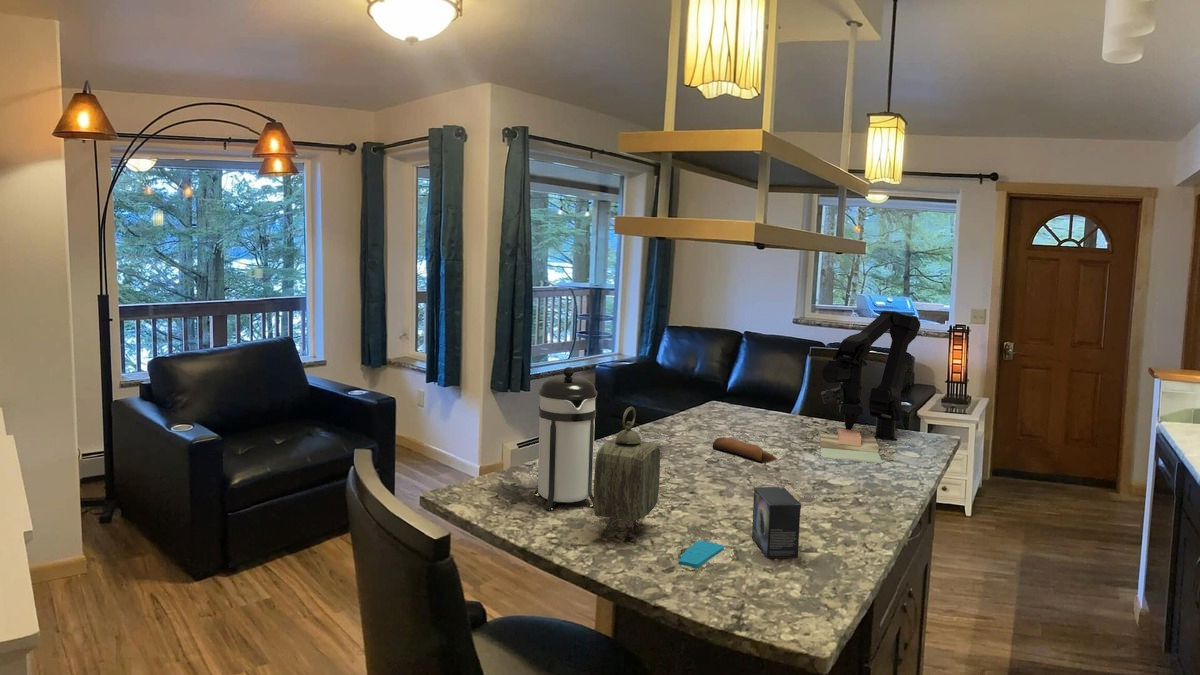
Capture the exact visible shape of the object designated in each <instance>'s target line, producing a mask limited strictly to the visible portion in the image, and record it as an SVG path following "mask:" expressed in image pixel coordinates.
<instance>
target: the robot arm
mask: <svg viewBox="0 0 1200 675" xmlns="http://www.w3.org/2000/svg"><path fill="white" fill-rule="evenodd" d="M920 328H921V322H920V320H919V318H918V317H917V315H909V314H908V315H906V314H902V313H899V312H897V311H893V310H882V311H881V312H880V314H879V315H878V316H877V317H876V318H875V319H874V320H873V321H872V322H870V323H869V324H868V325H867V326H866V327H865V328H863V329H862V330H861V331H860V332H858V333H855V334H851V335H849V336H847V337H846V338H844V339H842V341H841V343H840V345H839V346H838V349H837V350H836V352H835V354H834V356H833V358H832V359H828V362H827V364H826V365H824V366H823V369H822V370H821V375H822V378H823V380H824V381H825V382H826V383H828V384H836V383H837V384H838V383H839V386H838V387H834V388H830V389H826V390H822V391H821V392H820V394H821V398H822V401H823V404H824V405H826V404H829V403H832V402H836V401H837V404H839V406H838V410H839V413H840V414H842V415H843V419H844V427H845V428H844V429H846V430H853V427H854V425H855V423H856V422H857V420H858V417H859V416H862V415H863V411H864V409H863V406H862V405H861V402H862V399H861V394H862V389H863V386H862V382H863V381H862V380H863V372H864V371H863V367H868V362H866V361H865V358H866V357H868V355H869V354H870V352H871V351H872V345H873V344H874V343H875V342H876V341H877V340H878V339H879V338H881V337H883V335H884V334H885V333H887V331H888V332H889V335H890V339H891V343H890V347H889V350H888V354H887V358H886V361H885V365H884V369H883V373H882V376H881V380H880V383H879V385H878V386H877V387H872V389H871V391H870V395H869V397H868V399H867V400H868V409H869V410H868V411H869V414H870V417H874V418H875V419H876V420H875V431H874V432H873V433H872V435H873V438H875V439H881V440H891V441H897V440H898V438H897V436H896V424H897V423H896V422H901V421H903V418H904V416H905V412H904V411H903V410H902V407H901V406H900V405H899V404H900V395H899V392H898V384H899V381H900V377H901V374H902V369H903V366H904V362H905V358H906V354H907V352H908V349H909V348H908V346H909V345H910V344H911V343H912V342H913V341H914V340H915V339H916V338H917V336H918V333H919V330H920Z"/></svg>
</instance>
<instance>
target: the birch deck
mask: <svg viewBox="0 0 1200 675" xmlns="http://www.w3.org/2000/svg"><path fill="white" fill-rule="evenodd" d="M819 447H820V450H821V448H829V449H840V450H851V451H862V452H873V453H879V449H880V447H879V445H878V442H877V438H875V437H869V436H861V446H857V445H846V444H839V441H838V433H837V434H834V433H823V432H820V433H819Z"/></svg>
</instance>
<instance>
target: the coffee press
mask: <svg viewBox="0 0 1200 675" xmlns="http://www.w3.org/2000/svg"><path fill="white" fill-rule="evenodd" d="M562 373H563V375H564V376H559V377H552V378H548V379H547V380H545V381H543V383H542V384H541V387H540V388H539V389H538V395H539V406H538V416H539V424H538V425H539V427H538V428H539V429H538V430H539V432H538V462H537V463H538V465H537V466H538V470H537V471H538V472H537V475H538V477H537V488H536V489H535V491H534V493H533V494H534V495H535V494H537V493H538V494H539V495H540V497H542V498H543V499H546V500H547V501H546V502H545V506H544V508H545V510H546V509H550V510H549V511H551V508H554V509H555V507H556V505H557V503H574V502H575V503H576V502H580V501H581V502H584V503H585V504H586V506H590V505H593V506H592V507H591V508H594V494H593V483H594V454H595V453H594V452H595V451H594V450H595V449H594V447H595V425H596V424H595V422H596V421H595V420H596V416H597V408H596V398H597V396H598V391H597V390H596V387H595V384H593V383H592V382H591V381H589V380H588V379H585V378H583V377H582V378H581V377H576V376H575V377H572V376H574V373H575V370H574V369H573V368H572V367H571V366H567V367H565V368H564V369H563V371H562ZM588 498H589V499H590V500H591V501H589V500H588Z"/></svg>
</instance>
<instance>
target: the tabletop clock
mask: <svg viewBox="0 0 1200 675" xmlns="http://www.w3.org/2000/svg"><path fill="white" fill-rule="evenodd" d="M630 411H632V415H633V419H632V420H631V421H630V420H628V421H626V418H627V415H628V413H629V412H630ZM636 416H637V413H636V409H635V408H634V406H629V407H626V409H625V410H624V413H623V416H622V421H621V422H622V427H623V429H622V430H620V431H619V432H618V433H617V435H616V437H614V438H612V439H609V440H607V441H606V442H605V443H604V444H602V445H601V446H600V447H599V449H598V450H597V452H596V458H595V464H594V472H593V497H594V506H593V511H594V516H596V517H602V518H609V519H608V520H609V521H608V522H607V524H606V526H605V528H602V529H601V530H600V533H599V535H600V537H602V538H607V537H608V536H609V531H608V530H609V529H610V527H611V526H612V525H613V523H614V522H616V521H617V520H620V521H625V522H626V521H627V522H632V523H633V526H632V527H631V531H632V532H633V533H635V534H638V533H639V532H640V531H641V528H640V527H641V526H640V525H639V524H637V521H639V520H641V519H644V518H645V517H646V516H647V515H649V514H650V513H652V510H653V509H654V508H655V507H656V506H657V504H658V500H659V492H660V477H661V476H660V474H661V472H660V471H661V449H660V448H659V447H658V446H656V445H655V444H654V443H652V442H651V441H644V440H642V438H641V435H640V434H639V433H638V431H636V430H633V429H632V427H633V426H634V424H635V421H636V419H637V418H636Z"/></svg>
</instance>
